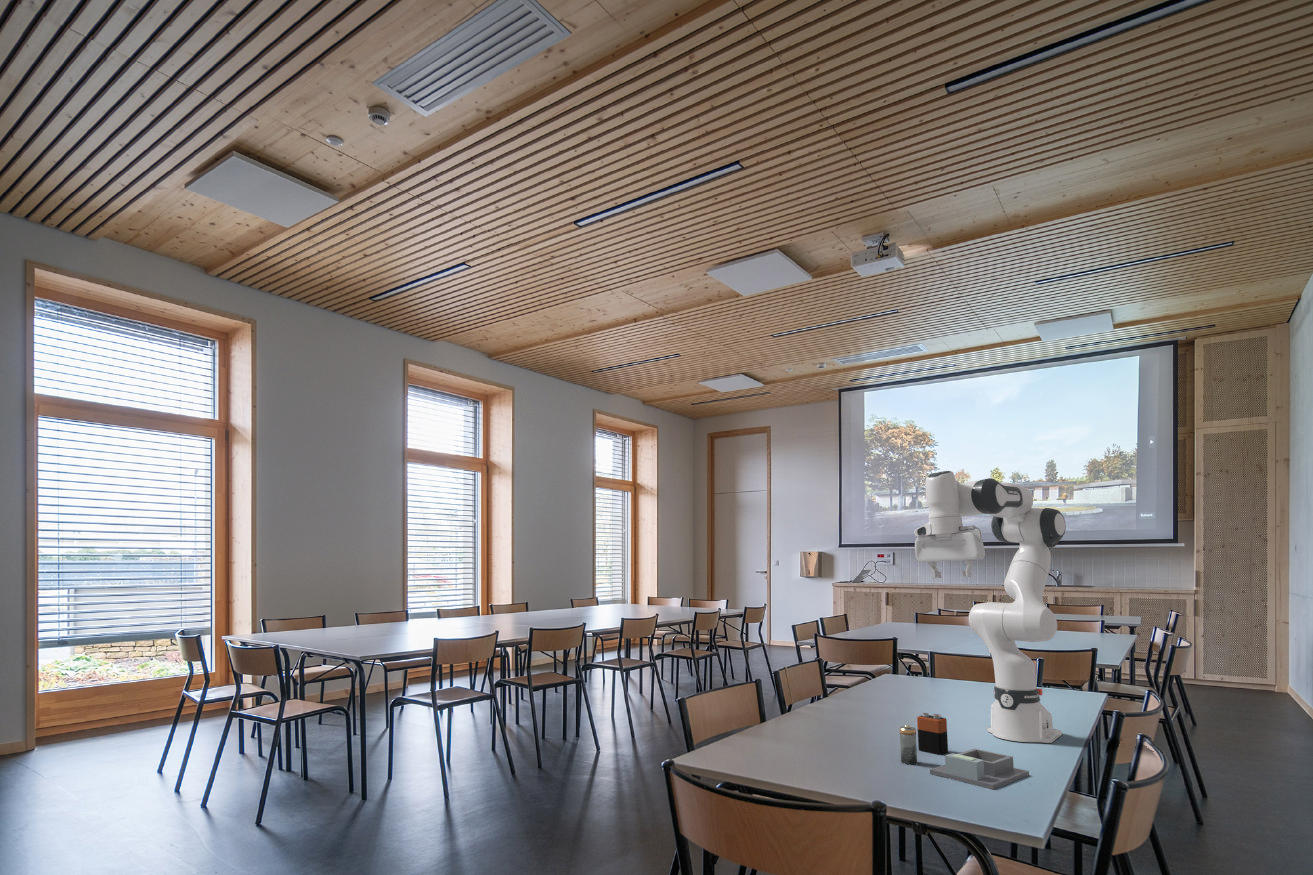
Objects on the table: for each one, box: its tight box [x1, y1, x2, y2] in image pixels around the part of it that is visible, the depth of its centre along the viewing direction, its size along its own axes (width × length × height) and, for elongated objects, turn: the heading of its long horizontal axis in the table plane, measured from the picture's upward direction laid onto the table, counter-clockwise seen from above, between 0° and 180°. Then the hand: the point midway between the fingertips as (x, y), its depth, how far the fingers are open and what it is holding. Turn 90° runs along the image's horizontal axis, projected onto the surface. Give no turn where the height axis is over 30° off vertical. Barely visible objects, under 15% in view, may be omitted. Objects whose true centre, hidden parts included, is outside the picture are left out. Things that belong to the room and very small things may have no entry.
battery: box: [916, 712, 949, 755], centre depth 209 cm, size 4×7×10 cm, turn 42°
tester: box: [929, 748, 1030, 790], centre depth 187 cm, size 18×16×5 cm
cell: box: [898, 724, 918, 766], centre depth 198 cm, size 4×4×9 cm
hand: (952, 577), depth 211 cm, fingers open, 8 cm apart
